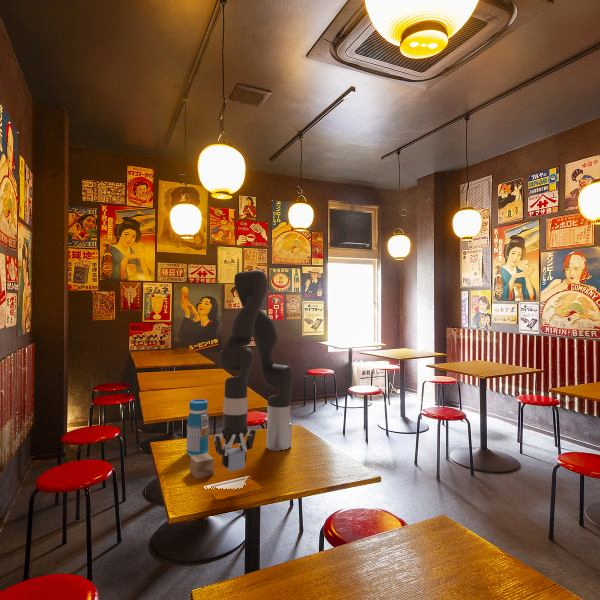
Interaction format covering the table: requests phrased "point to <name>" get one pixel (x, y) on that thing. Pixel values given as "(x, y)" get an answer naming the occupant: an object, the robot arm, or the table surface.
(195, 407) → the beverage bottle
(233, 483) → the menu card
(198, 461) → the walnut block
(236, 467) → the slate cube
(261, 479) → the table surface
